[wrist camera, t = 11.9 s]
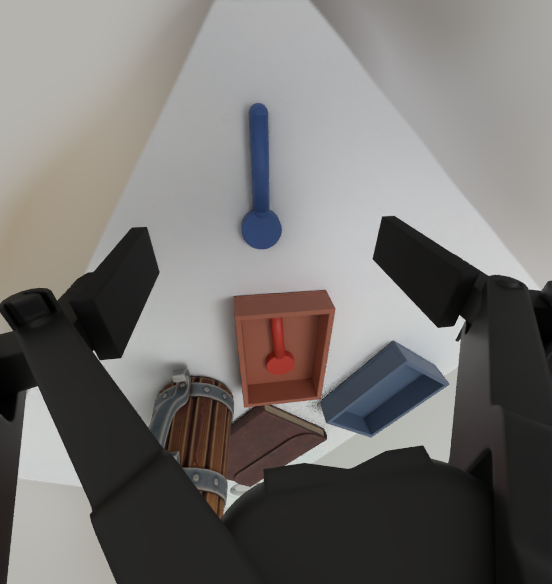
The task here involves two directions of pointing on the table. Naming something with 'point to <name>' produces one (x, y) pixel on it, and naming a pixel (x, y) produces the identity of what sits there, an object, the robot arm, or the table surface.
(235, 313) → the red bin
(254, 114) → the blue spoon
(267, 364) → the red spoon
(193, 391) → the mug
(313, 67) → the table surface
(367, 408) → the blue bin
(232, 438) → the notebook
